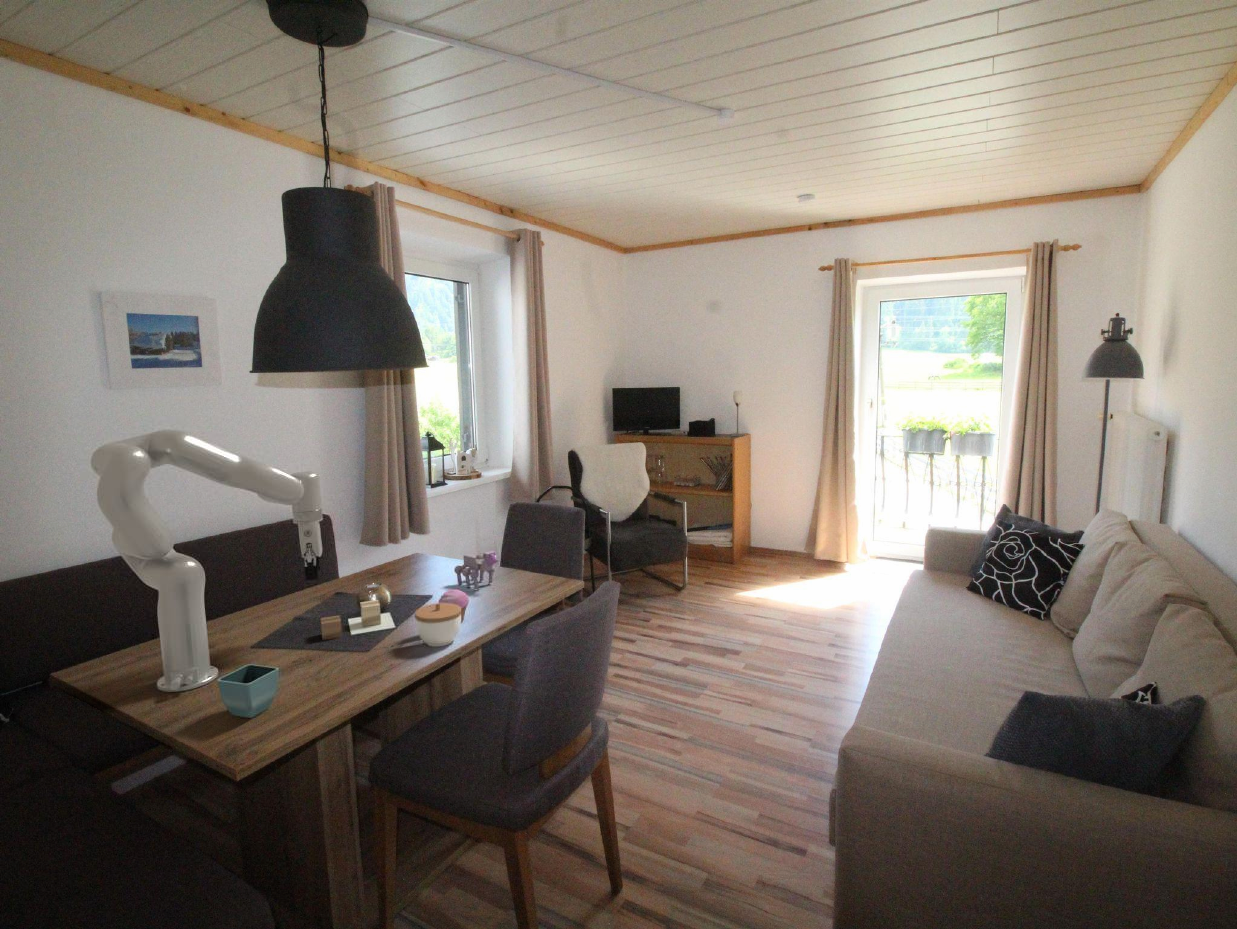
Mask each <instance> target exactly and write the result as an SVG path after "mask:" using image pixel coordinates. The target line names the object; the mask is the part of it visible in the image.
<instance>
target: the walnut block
mask: <svg viewBox="0 0 1237 929" xmlns="http://www.w3.org/2000/svg"><path fill="white" fill-rule="evenodd" d="M320 624H321V627H320V628H321V640H322V641H327V640H332V639H338V638H343V632H342V620H341V615H340V614H339V615H332V616H326V617H321V618H320Z"/></svg>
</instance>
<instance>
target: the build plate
mask: <svg viewBox="0 0 1237 929" xmlns="http://www.w3.org/2000/svg"><path fill="white" fill-rule="evenodd" d="M380 615H381V624H380V625H374V626H368V627H363V625H362V620H361V616H358V617H352V618H348V619H347V620H348V621H347V622H348V626H349V631H350V635H351V636H353V635H358V634H365V633H370V632H371V633H372V632H377V631H381V630H388V629H393V628H396V626H395V623H394V621H393V617H392V615H391V612H384V613H380Z"/></svg>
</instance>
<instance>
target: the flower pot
mask: <svg viewBox="0 0 1237 929" xmlns="http://www.w3.org/2000/svg"><path fill="white" fill-rule="evenodd" d="M279 671H280V668H279V667H275V666H267V665H259V664H252V663H251V664H245V665H244V666H242V667H239V668H238V669H235V670H233V671H231V672H230V673H227V674H226V675H223V676H221V677H220V678H217V680H216V682H217V688H218V690H219V695H220V698H221V701H222V703H223V705H224V707H225V708H226V709H227V710H228V711H229V712H230V713H231V715H233V716H236V717H242V718H247V719H249V718H250V719H252V718H254V717H256V716H257V715H259V714H261V713H263V712H264V711H266V710H267V709H269V708H270V707H271V705H272V704H273V702H274V700H275V697H276V695H277V691H278V685H279V676H280V673H279Z"/></svg>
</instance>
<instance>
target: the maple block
mask: <svg viewBox="0 0 1237 929" xmlns="http://www.w3.org/2000/svg"><path fill="white" fill-rule="evenodd" d="M359 604H360V615H361V616H360V617H361V620H362V625H363V627H368V626H374V625H380V624H381V615H380V614H381V605H380V601H379V599H375V600H368V601H367V600H366V601H361V602H359Z"/></svg>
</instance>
